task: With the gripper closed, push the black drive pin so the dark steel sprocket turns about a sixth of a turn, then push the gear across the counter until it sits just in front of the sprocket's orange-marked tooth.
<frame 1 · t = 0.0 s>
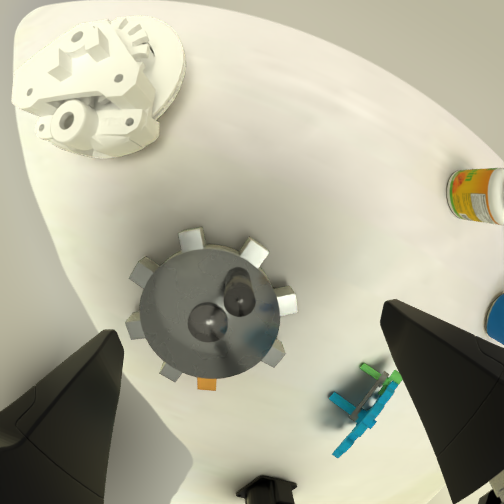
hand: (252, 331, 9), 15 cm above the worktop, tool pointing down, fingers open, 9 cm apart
beverage can: (495, 313, 28), on the worktop
mechanical part: (130, 99, 21), on the worktop
gear: (356, 395, 28), on the worktop
sprocket: (207, 327, 20), point 4 cm above the worktop, hinge at 0.0°
supplement bottle: (460, 194, 25), on the worktop
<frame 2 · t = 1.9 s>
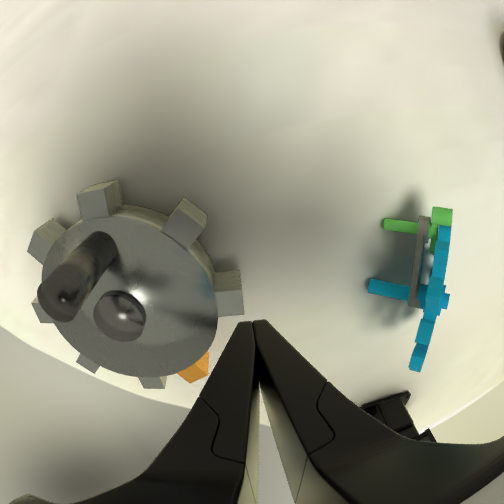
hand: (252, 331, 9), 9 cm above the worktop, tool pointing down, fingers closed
gear: (406, 264, 19), on the worktop
sprocket: (115, 326, 14), point 4 cm above the worktop, hinge at 0.0°
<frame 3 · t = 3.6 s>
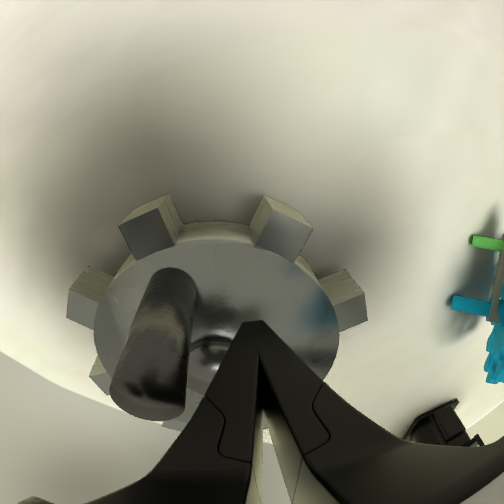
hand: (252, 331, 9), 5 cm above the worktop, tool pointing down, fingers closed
gear: (478, 279, 16), on the worktop
sprocket: (215, 383, 11), point 4 cm above the worktop, hinge at 14.9°, touching gripper
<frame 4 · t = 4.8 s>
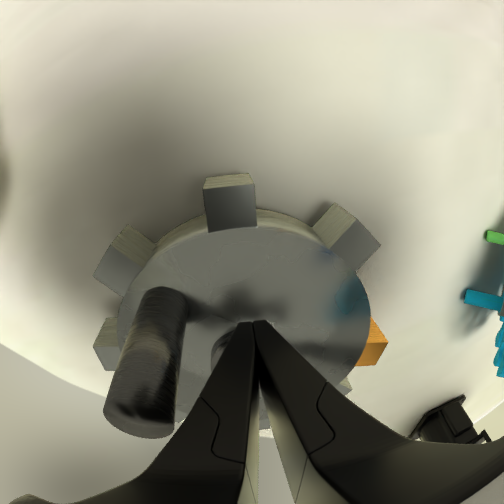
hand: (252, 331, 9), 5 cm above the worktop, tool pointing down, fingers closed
gear: (489, 275, 16), on the worktop
sprocket: (249, 376, 10), point 4 cm above the worktop, hinge at 45.6°
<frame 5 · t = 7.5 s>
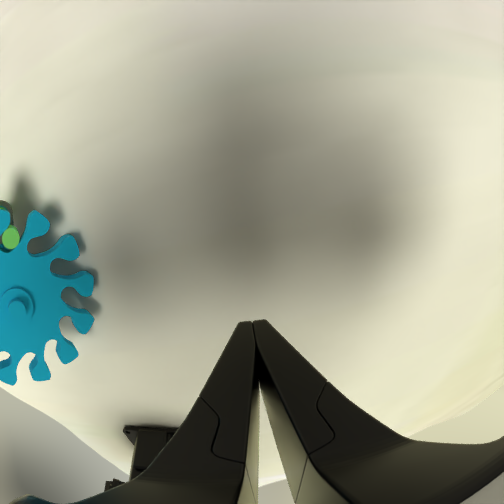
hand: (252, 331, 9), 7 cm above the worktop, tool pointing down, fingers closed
gear: (45, 260, 14), on the worktop
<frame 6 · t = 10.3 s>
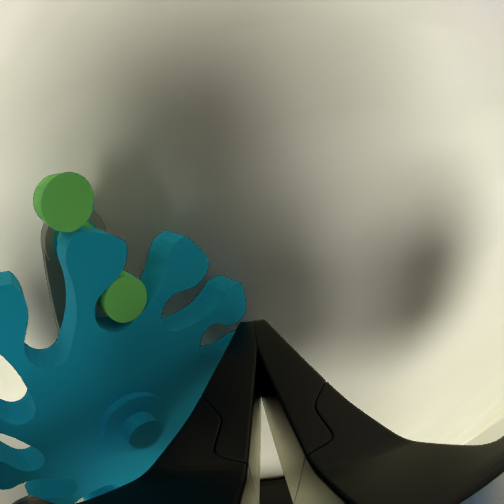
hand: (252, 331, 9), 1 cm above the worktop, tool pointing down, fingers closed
gear: (145, 313, 10), on the worktop, touching gripper
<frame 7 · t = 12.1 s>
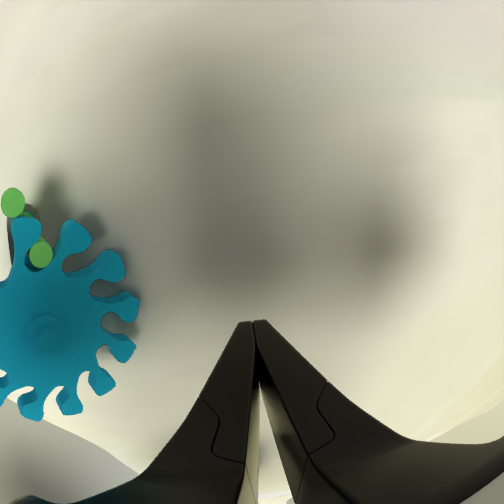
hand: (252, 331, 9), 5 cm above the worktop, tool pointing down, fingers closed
gear: (74, 276, 13), on the worktop
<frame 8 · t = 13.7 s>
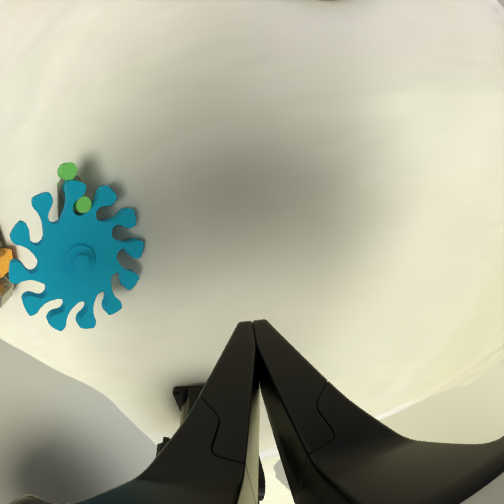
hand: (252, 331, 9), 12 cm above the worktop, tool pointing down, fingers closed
gear: (98, 229, 19), on the worktop
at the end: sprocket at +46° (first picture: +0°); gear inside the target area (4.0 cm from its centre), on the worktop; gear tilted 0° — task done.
